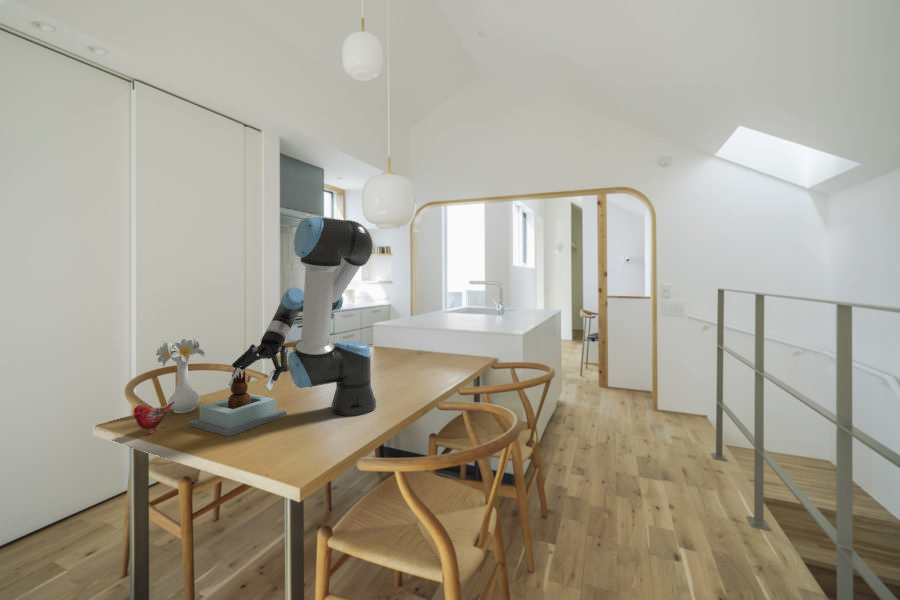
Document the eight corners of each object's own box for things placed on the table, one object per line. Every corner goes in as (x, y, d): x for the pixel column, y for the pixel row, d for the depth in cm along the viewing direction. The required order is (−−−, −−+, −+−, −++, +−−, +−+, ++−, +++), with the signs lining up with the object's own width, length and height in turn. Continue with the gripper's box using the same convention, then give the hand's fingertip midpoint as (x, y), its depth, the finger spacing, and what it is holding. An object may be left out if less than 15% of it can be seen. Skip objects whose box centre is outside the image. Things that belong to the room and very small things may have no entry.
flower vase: (182, 402, 145) (179, 334, 144) (218, 408, 139) (215, 337, 137) (144, 413, 133) (140, 340, 132) (181, 420, 126) (177, 343, 125)
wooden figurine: (255, 414, 128) (254, 369, 127) (241, 420, 123) (239, 373, 122) (240, 411, 131) (238, 367, 130) (224, 417, 125) (222, 371, 124)
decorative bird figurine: (129, 443, 109) (127, 408, 108) (170, 420, 127) (168, 389, 126) (140, 443, 109) (138, 408, 109) (179, 420, 127) (178, 389, 126)
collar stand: (286, 414, 131) (286, 398, 131) (229, 436, 113) (229, 417, 113) (247, 406, 140) (246, 390, 140) (188, 425, 122) (187, 407, 122)
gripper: (310, 342, 146) (287, 394, 132) (250, 340, 151) (223, 390, 137) (301, 330, 140) (277, 383, 127) (240, 329, 145) (210, 380, 131)
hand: (249, 387), depth 132 cm, fingers open, 13 cm apart
